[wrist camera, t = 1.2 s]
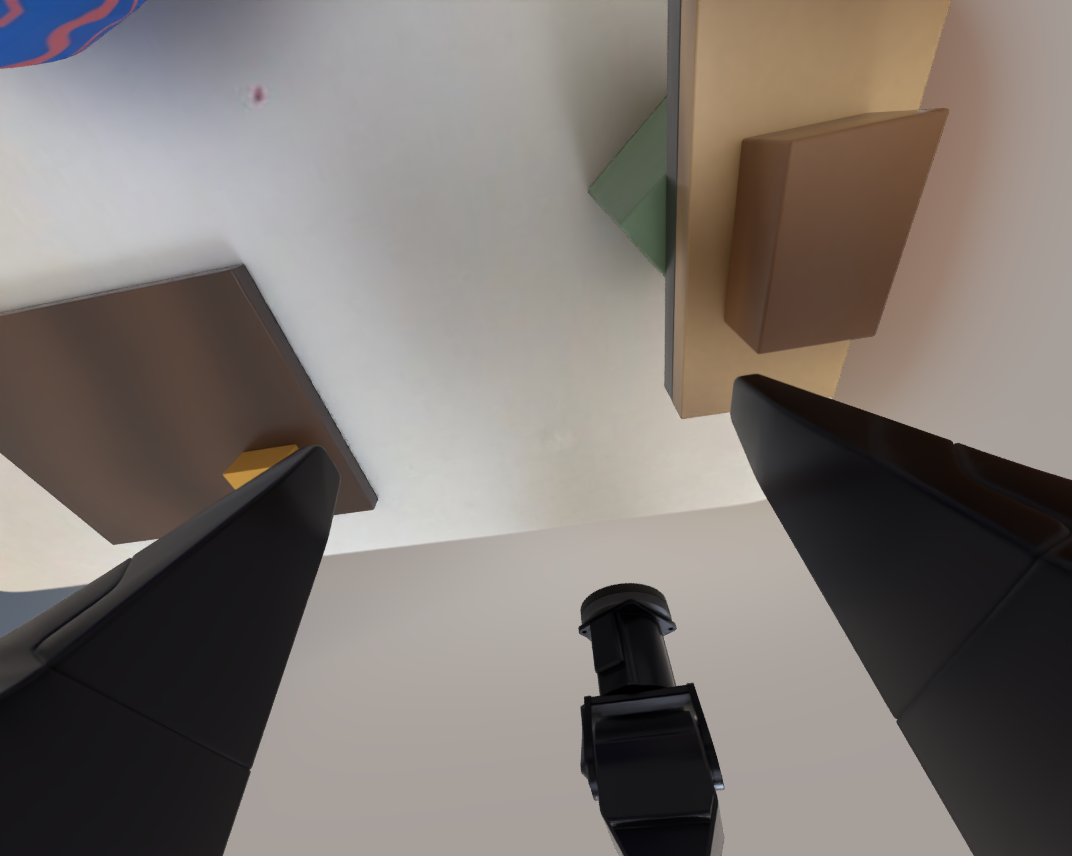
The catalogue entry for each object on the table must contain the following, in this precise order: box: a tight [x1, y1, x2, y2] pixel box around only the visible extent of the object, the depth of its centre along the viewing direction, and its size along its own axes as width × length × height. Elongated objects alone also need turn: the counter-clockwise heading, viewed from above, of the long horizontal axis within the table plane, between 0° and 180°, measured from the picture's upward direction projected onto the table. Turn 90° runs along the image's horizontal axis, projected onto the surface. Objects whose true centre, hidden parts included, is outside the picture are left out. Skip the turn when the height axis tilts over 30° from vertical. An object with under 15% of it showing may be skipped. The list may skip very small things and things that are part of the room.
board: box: [0, 264, 378, 545], centre depth 24 cm, size 20×16×1 cm
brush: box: [664, 0, 951, 419], centre depth 9 cm, size 10×4×4 cm, turn 10°
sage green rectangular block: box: [588, 96, 667, 277], centre depth 14 cm, size 5×5×8 cm
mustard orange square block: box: [223, 444, 299, 490], centre depth 25 cm, size 4×4×2 cm
